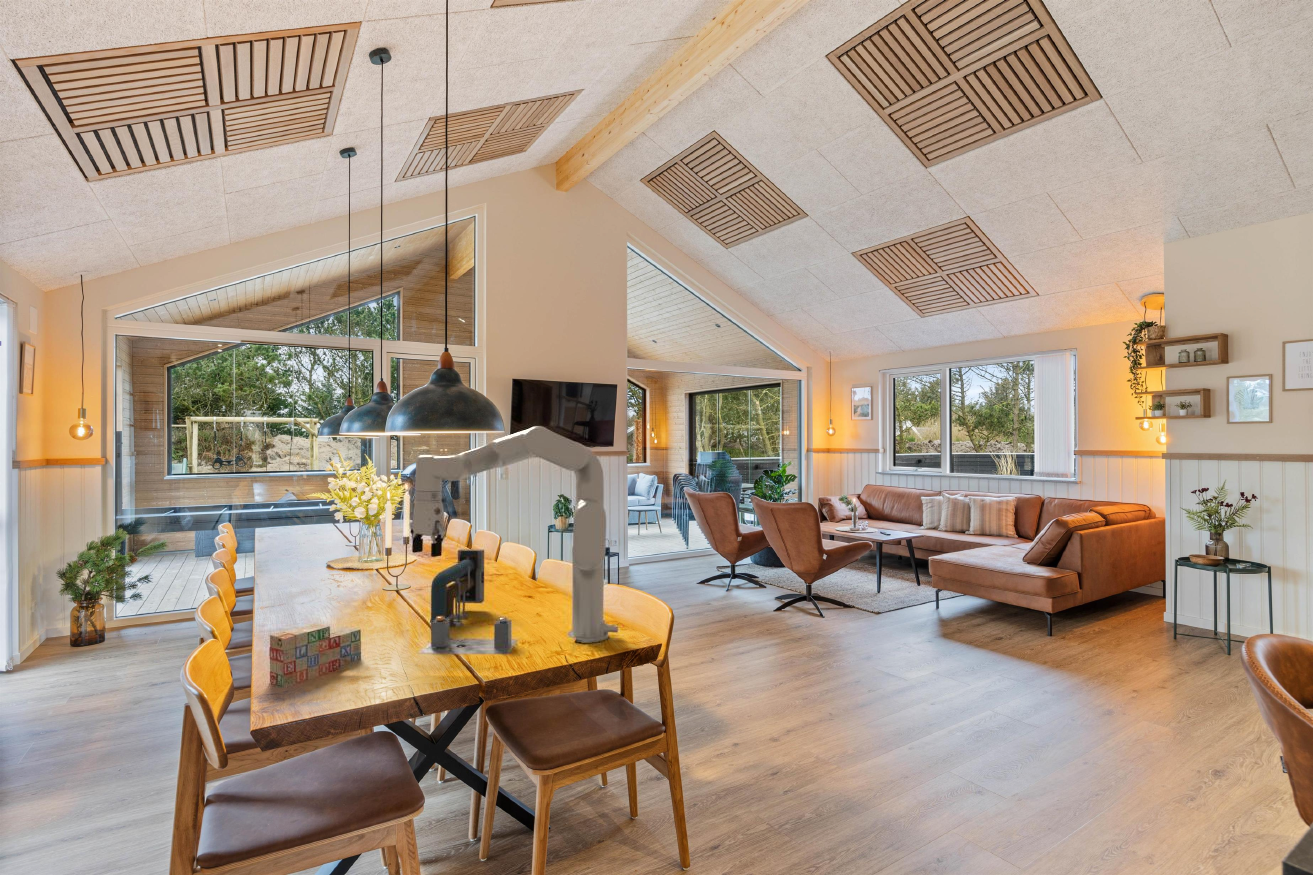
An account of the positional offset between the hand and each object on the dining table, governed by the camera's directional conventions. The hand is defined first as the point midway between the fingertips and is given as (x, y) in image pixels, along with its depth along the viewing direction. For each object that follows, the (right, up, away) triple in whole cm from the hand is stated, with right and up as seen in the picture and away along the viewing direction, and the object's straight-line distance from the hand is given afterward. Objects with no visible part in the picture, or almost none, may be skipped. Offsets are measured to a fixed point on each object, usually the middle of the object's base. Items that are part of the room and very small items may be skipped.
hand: (426, 554), depth 203 cm
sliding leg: (+6, -25, -7) cm, 27 cm away
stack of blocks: (-20, -27, -25) cm, 42 cm away
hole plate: (+15, -26, -7) cm, 31 cm away
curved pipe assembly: (+1, -27, +22) cm, 35 cm away
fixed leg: (+24, -25, -7) cm, 36 cm away
